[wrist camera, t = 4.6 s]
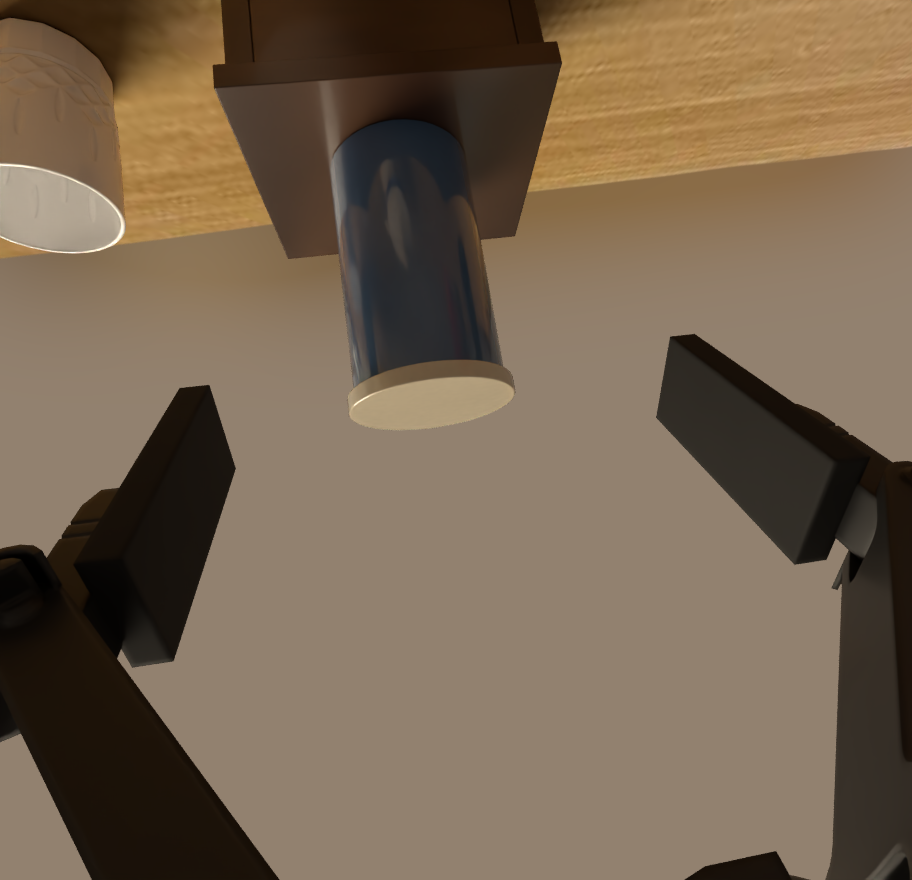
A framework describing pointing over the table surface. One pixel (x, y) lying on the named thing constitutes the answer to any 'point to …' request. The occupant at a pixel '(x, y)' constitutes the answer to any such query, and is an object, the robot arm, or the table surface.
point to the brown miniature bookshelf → (383, 96)
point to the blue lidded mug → (414, 280)
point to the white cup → (57, 143)
